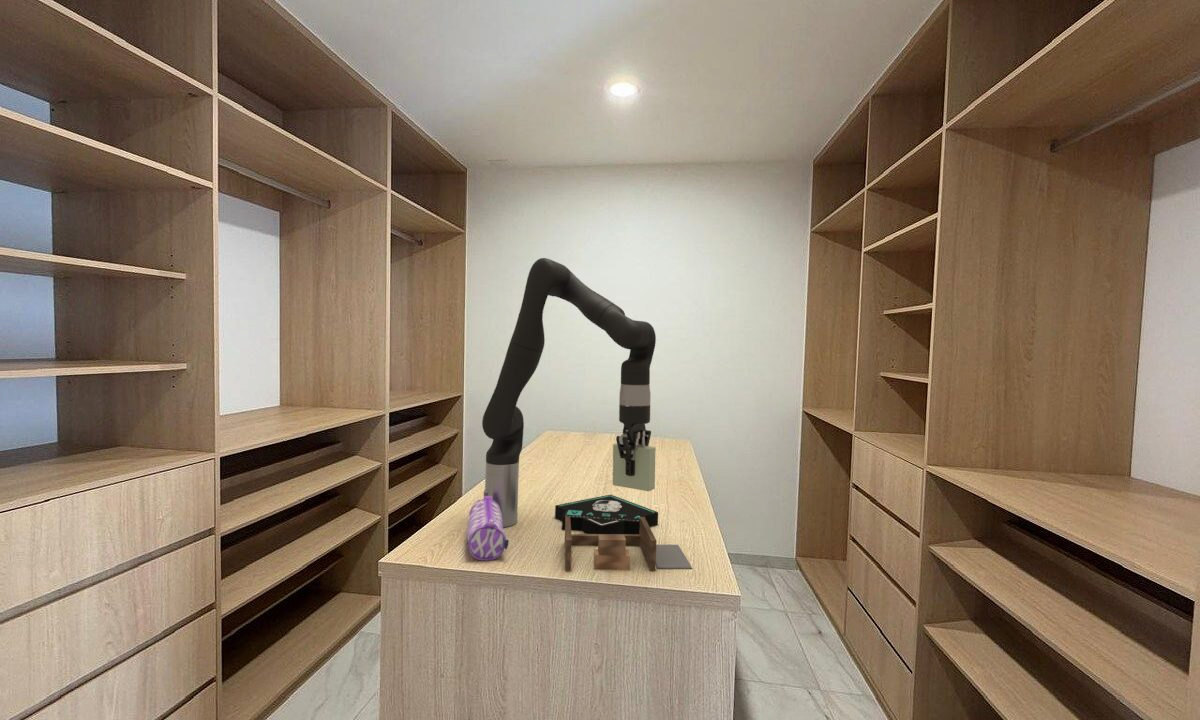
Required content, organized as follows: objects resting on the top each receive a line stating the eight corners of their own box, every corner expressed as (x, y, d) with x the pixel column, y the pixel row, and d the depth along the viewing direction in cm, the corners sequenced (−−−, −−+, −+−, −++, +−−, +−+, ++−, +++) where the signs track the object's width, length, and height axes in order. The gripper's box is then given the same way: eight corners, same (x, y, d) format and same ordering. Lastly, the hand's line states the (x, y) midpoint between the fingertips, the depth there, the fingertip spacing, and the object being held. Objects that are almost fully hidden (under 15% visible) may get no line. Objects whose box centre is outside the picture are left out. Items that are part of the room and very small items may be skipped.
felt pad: (657, 568, 119) (657, 567, 119) (647, 545, 133) (647, 544, 133) (692, 568, 120) (692, 567, 120) (678, 545, 134) (678, 544, 134)
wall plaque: (658, 545, 134) (657, 510, 164) (658, 530, 134) (657, 497, 164) (544, 537, 137) (563, 504, 167) (544, 522, 137) (564, 491, 167)
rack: (565, 570, 116) (566, 539, 116) (564, 543, 132) (565, 516, 132) (655, 570, 118) (656, 540, 118) (643, 544, 134) (644, 517, 134)
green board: (612, 485, 128) (613, 444, 127) (618, 482, 130) (619, 442, 130) (649, 491, 122) (649, 449, 122) (654, 488, 125) (655, 447, 125)
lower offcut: (594, 570, 118) (594, 554, 118) (593, 563, 121) (594, 549, 121) (629, 570, 118) (629, 555, 118) (628, 564, 122) (628, 549, 121)
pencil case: (508, 562, 120) (509, 521, 120) (467, 565, 118) (468, 523, 118) (500, 529, 142) (501, 494, 142) (465, 531, 139) (466, 496, 139)
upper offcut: (599, 555, 118) (599, 539, 118) (598, 549, 121) (598, 534, 121) (625, 555, 118) (625, 540, 118) (623, 549, 122) (624, 534, 121)
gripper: (635, 400, 134) (634, 467, 134) (606, 404, 122) (605, 477, 122) (661, 402, 130) (660, 470, 130) (634, 406, 118) (633, 482, 118)
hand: (633, 473), depth 126 cm, fingers closed on green board, 3 cm apart
